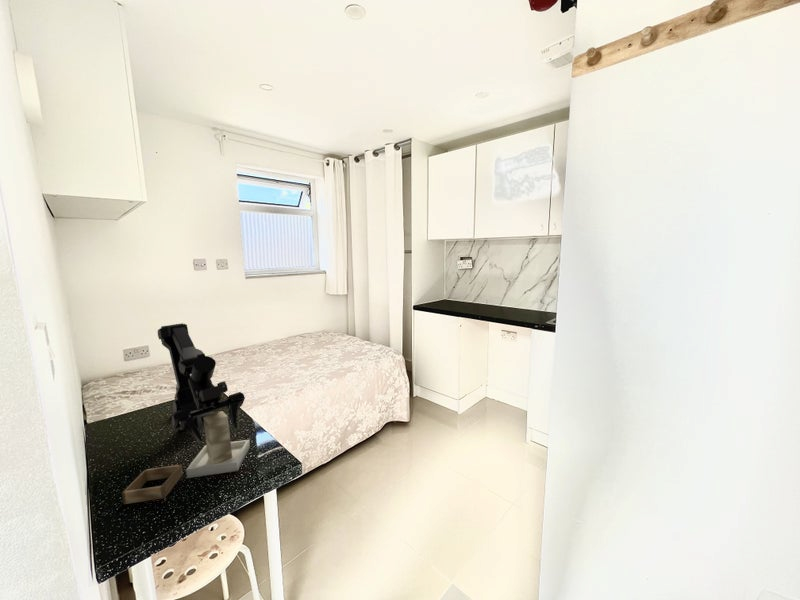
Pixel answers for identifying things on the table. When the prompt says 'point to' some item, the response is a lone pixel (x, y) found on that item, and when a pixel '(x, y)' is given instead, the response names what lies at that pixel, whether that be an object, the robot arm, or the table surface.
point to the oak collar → (152, 493)
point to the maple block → (217, 437)
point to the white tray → (205, 467)
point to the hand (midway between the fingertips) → (219, 434)
